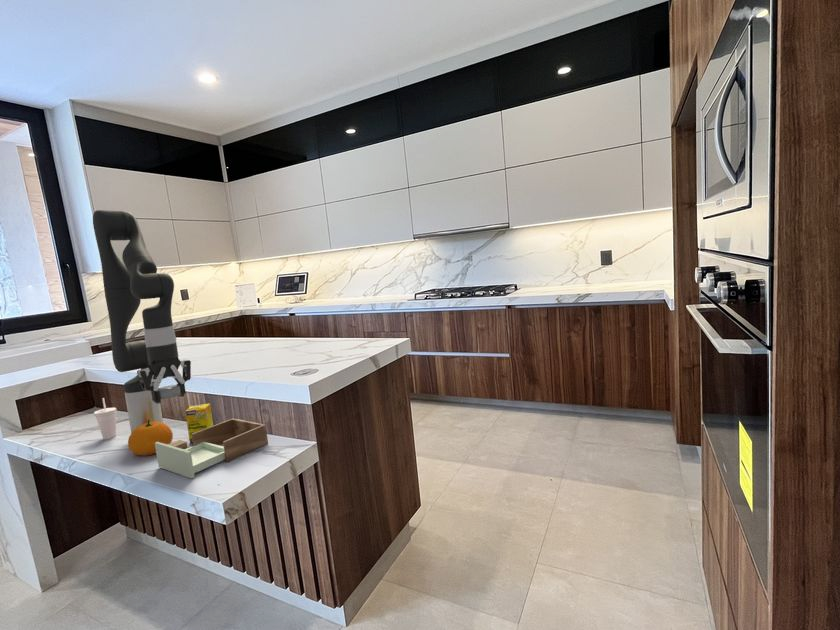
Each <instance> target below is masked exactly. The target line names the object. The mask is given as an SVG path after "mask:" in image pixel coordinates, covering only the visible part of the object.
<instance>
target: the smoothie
mask: <svg viewBox="0 0 840 630" xmlns="http://www.w3.org/2000/svg"><path fill="white" fill-rule="evenodd" d="M101 399H102V405H103V408H102V409H98V410H96V411H94V412H93V414H94V417H95V419H96V421H97V422H96V423H97V425H98V428H99V431H100V434H101V437H102V440H109V439H113V438H115V437H116V436H117V411H118V409H117V408H116V407H107V405H106V401H105V397H103V398H101Z"/></svg>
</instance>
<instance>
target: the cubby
mask: <svg viewBox="0 0 840 630" xmlns="http://www.w3.org/2000/svg"><path fill="white" fill-rule="evenodd" d="M267 431H268V430H267V426H266V423H265V424H263V423H259V422H254V421H249V420H243V419H237V418H229V419H227V420H225V421H224V420H223V421H222V422H219V423H217V424H213V426H211V427H208V428H206V429H203V430H201V431H198V432H195V433H193V434H192V439H193V443H192V444H193V446H195V445H197V444H200V443H202V442H207V443H211V444H215V445H219V446H223V447H224V452H225V459H224V460H222V461H221V462H224V463H230V462H231V461H232V462H233V461H234V460H236V459H239V458H241V457H242V456H244V455H247V454H249V453H251V452H253V451H256V450H258V449H259V448H261V447H264V446H266V445H269V440H268V433H267Z"/></svg>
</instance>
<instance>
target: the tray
mask: <svg viewBox="0 0 840 630" xmlns="http://www.w3.org/2000/svg"><path fill="white" fill-rule="evenodd" d="M155 448H156V453H155V454H156V459H157V464H158V468H161V469H164V470H166V471H169V472H173V473H175V474H178V475H181V476H183V477H186V478H189V479H193V478H195V477H196V476H195V473H198V472H200V471H203V470H204V469H206V468H209V467H212V466H214V465H216V464H218V463H220V462H223V461H222V460H224V459H225V452H224V447H223V446H219V445H215V444H211V443H207V442H202V443H200V444H197V445H195V446H190V447H188V448H187V449H185V450H184V449H181V448H177V447H174V446H170V445H167V444H164V443H160V442H156V443H155Z"/></svg>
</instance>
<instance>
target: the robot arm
mask: <svg viewBox="0 0 840 630" xmlns="http://www.w3.org/2000/svg"><path fill="white" fill-rule="evenodd" d="M92 226H93V231H94V236H95V240H96V245H97V250H98V253H99V258H100V264H101V265H100V266H101V274H102V280H103V281H102V282H103V289H104V298H105V302H106V303H105V304H106V308H107V315H108V319H109V325H110V327H109V328H110V337H111V338H110V340H111V353H112V355H111V356H112V361H113V365H114V368H115V369H116V370H117V372H120V373H124V372H125V373H126V372H131V371H135V370H137V371H136V374H137V375H135V376H134V377H133V378H131V379H129V380H127V381H126V382H125V383H123V391H124V398H125V403H126V409H127V415H128V422H129V427H130V434H131V433H132V432H133V431H134V429H135V428H137V427H138V426H140V425H143V424H146V423H148V420H150V421H149V423H150V422H162V423H164V421H163V415H162V407H161V406H162V405H161V403H162V399H160V393H159V390H158V388H160V387H159V386H160V384H161V383H162V380H164V379H166V378H168V377H169V378H170V377H172V378H173V379H174V381H175V382H176V383H177V384H176V385H180V389H181V394H180V395H179V396H178V397H179V398H180V397H181V398H182V397H185V395H186V386H185V383H186V382H188V381H190V380H191V378H192V377H191V376H192V373H191V372H192V371H191V369H192V368H191V365H192V362H191V360H189V359H183V360H180V358H179V352H178V343H177V337H176V331H175V329H174V326H173V317H172V302H173V295H174V290H175V283H174V279H173V277H171V275H170V274H168V273H167V272H158V268H157V265H156V263H155V262H154V259H153V258H152V256H151V255H150V253H149V251H148V249H147V247H146V244H145V243H146V242H145V240H144V237H143V234H142V231H141V228H140V226H139V223H138V221H137V217H136V216H135V215H134V214H133V213H132V212H130V211H124V210H109V209H108V210H105V209H103V210H102V209H99V210H95V211H93V215H92ZM111 241H128V243H126V244H127V245H126V246H125V247H124V249H123V251H122V253H121V257H122V260H120V258H119V257H118V255H117V254H116V251H115V250H114V248H113V245H112V242H111ZM149 299H159V301H158V303H157V304H155V305H153V306H149V307H146V308H144V309H143V310H142V311H141V315H142V322H143V323H142V325H143V328H144V339H141V340H134V341H129V342H127V340H126V338H127V333H128V332H127V331H128V328H129V326H130V324H131V321H132V319H134V316H135V315H136V313H137V311H138V309H139V308H140V305H141V300H149ZM180 367H181V368H182V374H181V373H180V372H179V369H180Z"/></svg>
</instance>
